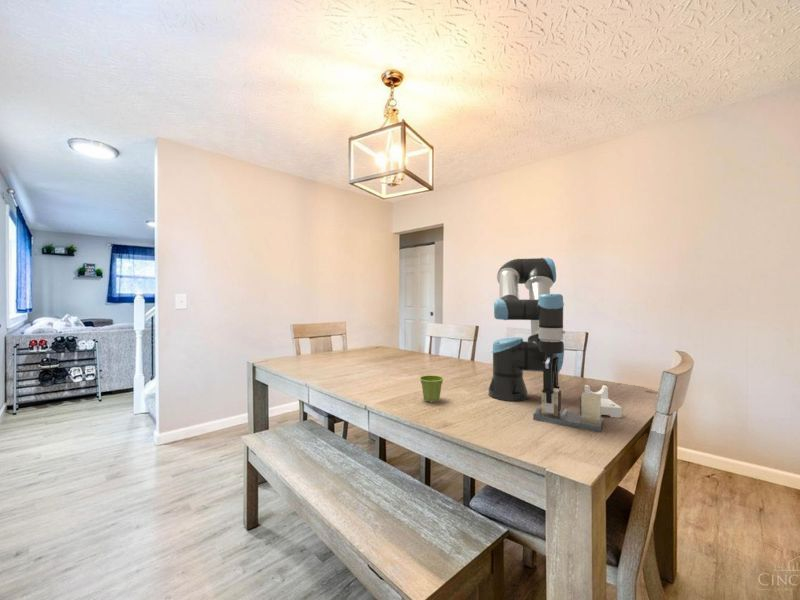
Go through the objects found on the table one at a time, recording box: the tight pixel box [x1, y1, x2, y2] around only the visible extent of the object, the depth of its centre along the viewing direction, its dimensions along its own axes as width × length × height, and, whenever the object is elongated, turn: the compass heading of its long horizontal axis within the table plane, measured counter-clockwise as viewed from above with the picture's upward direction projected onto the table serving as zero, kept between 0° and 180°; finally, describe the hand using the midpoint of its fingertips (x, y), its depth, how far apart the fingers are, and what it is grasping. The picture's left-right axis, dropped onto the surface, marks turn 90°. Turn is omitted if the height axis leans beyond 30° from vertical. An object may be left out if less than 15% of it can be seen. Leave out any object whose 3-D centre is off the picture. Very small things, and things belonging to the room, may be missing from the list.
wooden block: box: [540, 387, 562, 416], centre depth 113 cm, size 5×4×8 cm
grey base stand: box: [532, 391, 604, 433], centre depth 110 cm, size 19×10×10 cm, turn 55°
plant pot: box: [419, 374, 445, 402], centre depth 133 cm, size 9×9×9 cm
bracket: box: [583, 384, 623, 418], centre depth 119 cm, size 13×7×8 cm, turn 170°
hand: (551, 410), depth 113 cm, fingers open, 4 cm apart
